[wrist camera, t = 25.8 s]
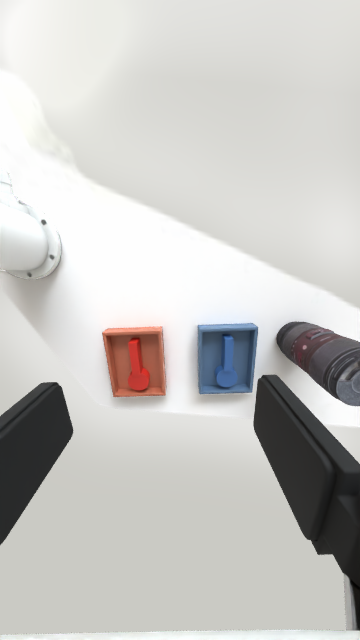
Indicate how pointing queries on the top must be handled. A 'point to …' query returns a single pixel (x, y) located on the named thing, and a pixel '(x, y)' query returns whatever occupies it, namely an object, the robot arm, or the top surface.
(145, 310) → the top surface
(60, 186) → the top surface
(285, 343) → the camera lens
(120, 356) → the red tray
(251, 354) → the blue tray
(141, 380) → the red spoon
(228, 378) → the blue spoon
